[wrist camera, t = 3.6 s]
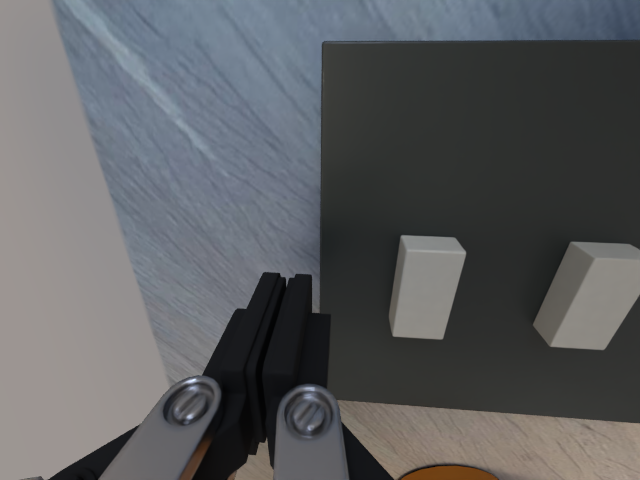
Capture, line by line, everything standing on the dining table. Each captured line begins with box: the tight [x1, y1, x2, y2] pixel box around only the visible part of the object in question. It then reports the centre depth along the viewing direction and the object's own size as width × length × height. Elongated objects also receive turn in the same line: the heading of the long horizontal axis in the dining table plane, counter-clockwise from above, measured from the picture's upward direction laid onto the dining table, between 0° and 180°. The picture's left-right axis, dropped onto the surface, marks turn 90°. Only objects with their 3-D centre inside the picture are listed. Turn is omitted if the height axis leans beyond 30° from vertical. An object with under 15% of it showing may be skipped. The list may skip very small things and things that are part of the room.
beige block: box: [389, 235, 466, 340], centre depth 11 cm, size 4×2×1 cm, turn 0°
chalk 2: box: [533, 242, 640, 350], centre depth 11 cm, size 4×2×1 cm, turn 0°
